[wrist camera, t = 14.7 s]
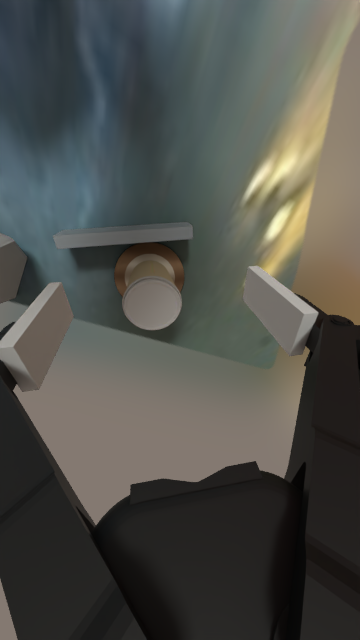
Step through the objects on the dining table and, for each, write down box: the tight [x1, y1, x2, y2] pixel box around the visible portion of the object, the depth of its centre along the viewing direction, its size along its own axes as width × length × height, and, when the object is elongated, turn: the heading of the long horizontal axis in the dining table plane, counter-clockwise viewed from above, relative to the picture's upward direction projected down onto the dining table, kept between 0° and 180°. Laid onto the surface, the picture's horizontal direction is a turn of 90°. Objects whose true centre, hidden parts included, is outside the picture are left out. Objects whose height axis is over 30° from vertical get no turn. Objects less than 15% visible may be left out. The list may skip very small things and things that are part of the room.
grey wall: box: [53, 222, 193, 249], centre depth 37 cm, size 2×22×5 cm, turn 92°
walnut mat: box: [114, 242, 184, 297], centre depth 44 cm, size 14×14×1 cm
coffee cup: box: [122, 260, 182, 330], centre depth 38 cm, size 9×9×12 cm
